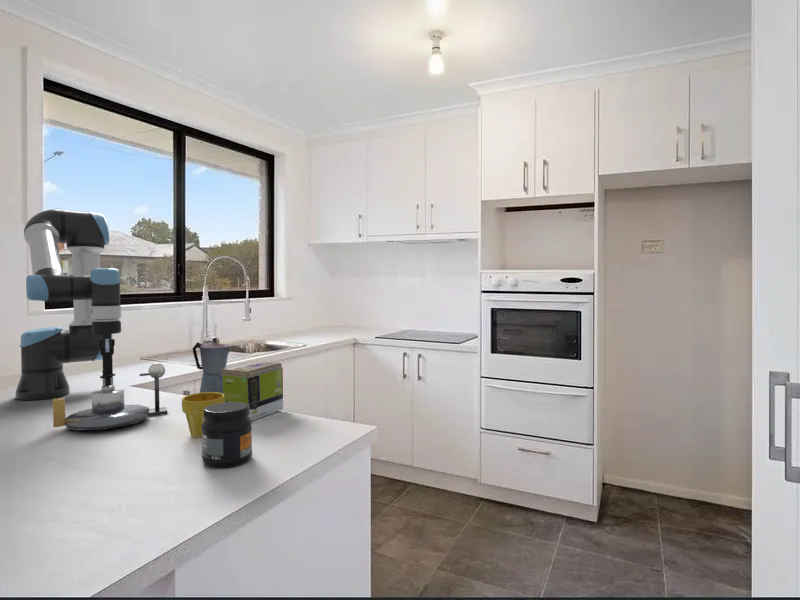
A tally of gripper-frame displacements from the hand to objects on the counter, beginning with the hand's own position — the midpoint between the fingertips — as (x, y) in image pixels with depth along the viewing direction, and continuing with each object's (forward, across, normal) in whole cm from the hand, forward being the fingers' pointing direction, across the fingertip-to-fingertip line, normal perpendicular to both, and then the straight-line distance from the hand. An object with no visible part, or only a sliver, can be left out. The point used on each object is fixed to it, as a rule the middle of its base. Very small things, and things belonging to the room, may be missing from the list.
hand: (108, 398), depth 146 cm
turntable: (+3, +12, -1) cm, 13 cm away
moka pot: (+5, -8, +31) cm, 32 cm away
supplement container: (+5, +58, +22) cm, 63 cm away
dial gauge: (+4, +7, +11) cm, 14 cm away
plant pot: (+5, +36, +21) cm, 41 cm away
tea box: (+5, +24, +37) cm, 44 cm away
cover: (+2, +6, 0) cm, 7 cm away
